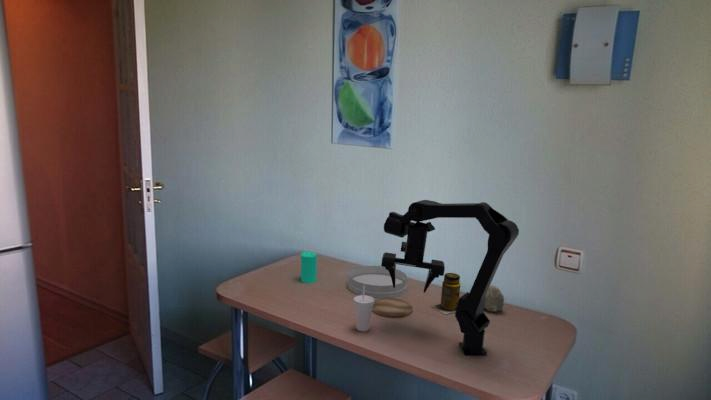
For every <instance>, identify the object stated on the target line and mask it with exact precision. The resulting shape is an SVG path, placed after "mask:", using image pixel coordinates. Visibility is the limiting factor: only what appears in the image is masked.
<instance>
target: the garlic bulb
mask: <svg viewBox="0 0 711 400" xmlns="http://www.w3.org/2000/svg"><path fill="white" fill-rule="evenodd" d="M504 302H505V297H504V295H503V293H502V290H501V289H500V288H499V287H497V286H496V285H495V284H490V286H489V289H488V291H487V293H486V295H485V306H484V309H485V310H486V311H488V312H500V311H502V309H503V308H504Z"/></svg>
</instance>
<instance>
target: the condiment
mask: <svg viewBox="0 0 711 400" xmlns="http://www.w3.org/2000/svg"><path fill="white" fill-rule="evenodd" d="M460 279H461V276H460V275H459V274H458V273H455V272H446V273H444V276H443V280H442V284H441V297H440V303H438V304H435V305H431V306H430V307H431V308H433V309H434V310H436V311H438V312H440V313H442V314H444V315H449V314H451V313H452V314H453V313H455V312H456V310H454V309H455V308H456V307H457V305H458V301H459V298H460V293H461V283H460V282H461V281H460Z"/></svg>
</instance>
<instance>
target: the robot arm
mask: <svg viewBox="0 0 711 400" xmlns="http://www.w3.org/2000/svg"><path fill="white" fill-rule="evenodd" d="M438 218H442V219H444V218H446V219H449V218H450V219H451V218H452V219H454V218H456V219H457V218H459V219H464V218H465V219H466V218H468V219H476V220H477V221H478V222H479V224H480V225H481V227H482V229H483V231H485V232H486V233H487V234H488V239H487V250H486V253H485V256H484V258H483V261H482V262H481V265H480V268H479V270H478V273H477V275H476V277H475V279H474V282H473V284H472V286H471V288H470V291H469V292H465V293H464V294H463V295H462V296H459V301H458V305H457V307H456V308H455V309H454V310H456V312H454V317H455V319H456V321H457V322H458V326H459V330H460V333H462V334H463V338H462V339H463V340H462V342H458V346H459V347H460V349H461V351H462V352H463V355H465V356H486V355H488V352H487V351H486V349H485V348H484V343H485V334H486V332H485V330H486V328H488V327H489V324H490V323H491V320H490V319H489V317H488V316H487V315H486V314H485V312H484V310H485V307H484V306H485V295H486V293H487V291H488V289H489V286H490V285H492V282H493V280H494V277H495V274H496V273H497V270H498V268H499V265H500V263H501V261H502V258H503V256H504V255H505V253H506V252H507V251H508V250H509V249H510V247H511V246H512V245H513V244H514V242H515V241H516V239H517V238H518V236H519V234H520V231H519V226H518V225H517V224H516V223H515V222H514V221H512V220H510V219H508V218H507V217H506V216H505V215H504V214H502V213H500V212H499V211H497V210H496V209H494V208H493V207H492V206H491V205H490V204H489V203H487V202H483V201H481V202H479V203H474V202H473V203H472V202H471V203H470V202H469V203H467V202H466V203H465V202H464V203H463V202H462V203H460V202H459V203H441V202H437V201H435V200H430V199H429V200H428V199H422V200H419V201H416V202H412V203H410V205H409V206H408V209H407V211H406V213H404V214H400V213H397V212H396V211H391V212H389V213H388V216H387V217H386V220H385V222H384V224H383V232H384V233H385V234H388V235H392V236H395V237H399V238H402V239H403V238H404V237H405V236H406V237H407V238H406V241H401V246H400V253H401V252H402V253H404V258H401V257H397V254H396V253H392V252H386V251H385V252H384V253H383V254H382V258H381V264H380V266H383V267H385V269H386V270H388V271H389V273H390V276H391V279H392V284H393V288H395V283H396V269H397V268H396V267H397V265H400V266H405V267H412V268H419V269H425V270H428V272H427V276H426V280H425V283H424V286H423V293H426V291H427V290H428V288H429V287H430V285H431V284H432V282H433V281H434V280H435V279H436V278H437V279H438V278H440V276H441V277H444V275H445V268H446V267H445V262H444V261H443V260H438V259H431V261H430V262H427V261H424V258H425V250H426V244H427V236H428V233H430V232H432V231H435V230H436V228H435V226H434V225H433V224H432V221H429V220H433V219H438ZM426 221H428V222H426Z"/></svg>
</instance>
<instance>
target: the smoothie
mask: <svg viewBox="0 0 711 400" xmlns="http://www.w3.org/2000/svg"><path fill="white" fill-rule="evenodd" d="M364 294H365V286H363V295H356V296H355V297H354V298H353V304H354V312H355V324H356V325H355V326H356V330H357V331H360V332H367V331H369V329H370V324H371V318H372V314H373V311H372V308H373V304H374V301H375V298H373V297H371V296H367V295H364Z"/></svg>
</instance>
